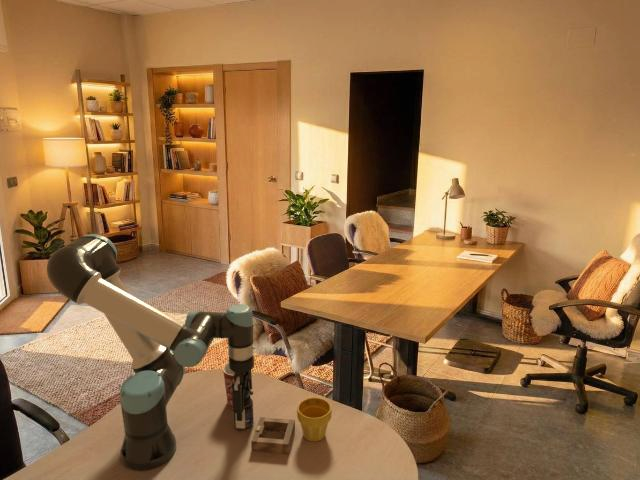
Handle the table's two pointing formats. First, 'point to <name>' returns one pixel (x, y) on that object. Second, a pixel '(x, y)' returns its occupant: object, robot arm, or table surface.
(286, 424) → the wooden tray
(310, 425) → the plant pot
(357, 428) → the table surface
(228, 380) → the mug
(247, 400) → the pill bottle
